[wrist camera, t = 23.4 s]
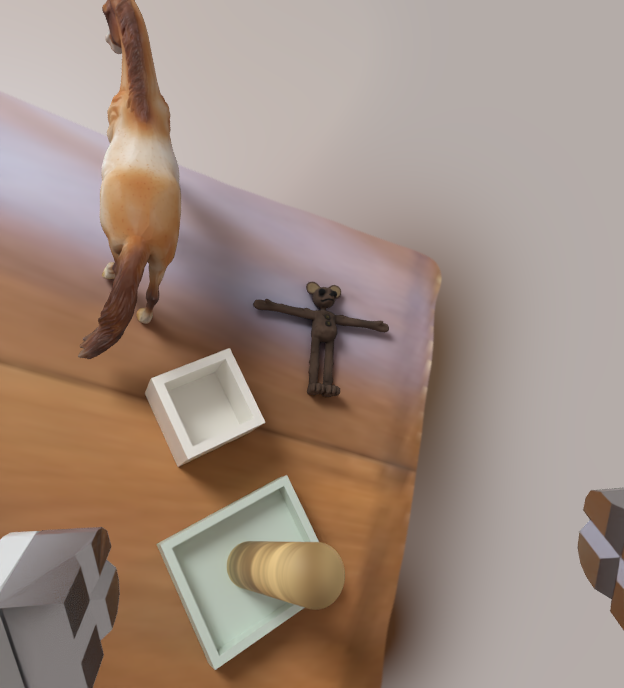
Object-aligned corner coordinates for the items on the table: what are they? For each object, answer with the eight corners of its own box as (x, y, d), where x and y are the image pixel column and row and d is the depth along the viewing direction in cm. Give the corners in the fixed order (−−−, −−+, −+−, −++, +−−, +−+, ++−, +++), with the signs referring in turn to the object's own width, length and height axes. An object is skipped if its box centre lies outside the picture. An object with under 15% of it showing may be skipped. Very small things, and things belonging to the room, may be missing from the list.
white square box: (177, 467, 55) (188, 459, 50) (144, 393, 56) (151, 378, 51) (249, 432, 59) (265, 422, 54) (216, 364, 60) (229, 348, 55)
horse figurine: (98, 124, 64) (104, -38, 46) (165, 138, 67) (195, -9, 49) (77, 374, 54) (74, 292, 36) (156, 378, 57) (190, 303, 39)
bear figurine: (251, 382, 58) (263, 259, 62) (241, 388, 62) (253, 272, 66) (396, 402, 64) (399, 288, 68) (379, 406, 68) (382, 299, 72)
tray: (208, 663, 50) (215, 670, 48) (156, 544, 52) (160, 544, 49) (328, 581, 57) (338, 583, 54) (278, 477, 58) (287, 475, 56)
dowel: (230, 594, 52) (294, 618, 36) (223, 547, 53) (281, 550, 37) (273, 581, 54) (350, 599, 38) (264, 536, 55) (337, 535, 39)
